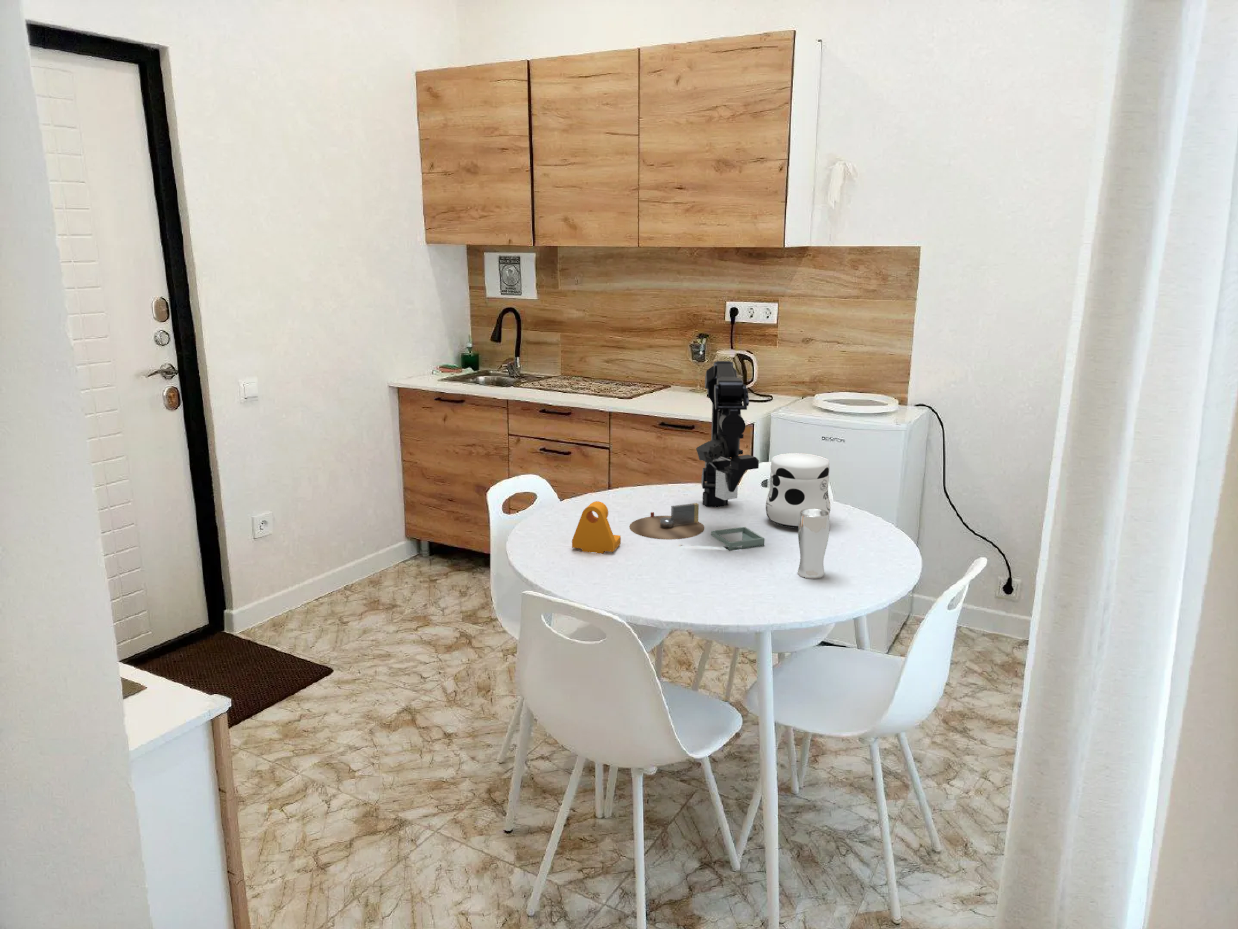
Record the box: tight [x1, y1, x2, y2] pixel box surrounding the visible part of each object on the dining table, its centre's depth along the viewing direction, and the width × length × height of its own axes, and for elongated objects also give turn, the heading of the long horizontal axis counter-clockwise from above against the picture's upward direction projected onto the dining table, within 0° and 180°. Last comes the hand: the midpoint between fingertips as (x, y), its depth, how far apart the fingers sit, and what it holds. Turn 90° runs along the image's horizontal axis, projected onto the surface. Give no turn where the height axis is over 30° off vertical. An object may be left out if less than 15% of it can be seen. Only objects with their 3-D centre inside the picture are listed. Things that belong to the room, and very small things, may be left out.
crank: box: [660, 502, 700, 527], centre depth 232 cm, size 11×4×5 cm, turn 111°
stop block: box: [715, 469, 739, 501], centre depth 222 cm, size 4×4×7 cm
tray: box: [710, 526, 766, 552], centre depth 223 cm, size 10×10×2 cm
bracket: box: [571, 500, 622, 554], centre depth 217 cm, size 11×7×12 cm, turn 73°
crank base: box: [629, 511, 705, 541], centre depth 232 cm, size 20×20×2 cm
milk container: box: [765, 452, 831, 529], centre depth 236 cm, size 17×17×18 cm
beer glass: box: [797, 508, 830, 580], centre depth 200 cm, size 7×7×15 cm
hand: (726, 489), depth 222 cm, fingers closed on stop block, 4 cm apart
